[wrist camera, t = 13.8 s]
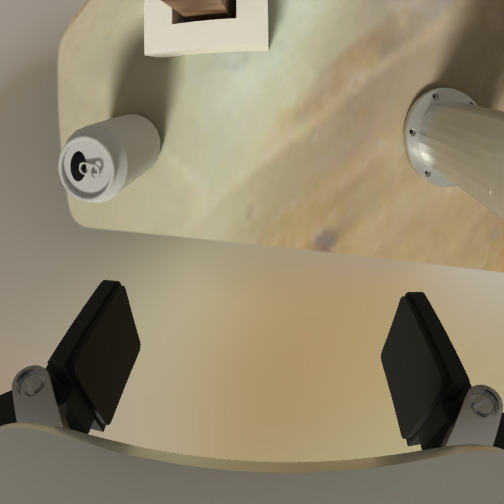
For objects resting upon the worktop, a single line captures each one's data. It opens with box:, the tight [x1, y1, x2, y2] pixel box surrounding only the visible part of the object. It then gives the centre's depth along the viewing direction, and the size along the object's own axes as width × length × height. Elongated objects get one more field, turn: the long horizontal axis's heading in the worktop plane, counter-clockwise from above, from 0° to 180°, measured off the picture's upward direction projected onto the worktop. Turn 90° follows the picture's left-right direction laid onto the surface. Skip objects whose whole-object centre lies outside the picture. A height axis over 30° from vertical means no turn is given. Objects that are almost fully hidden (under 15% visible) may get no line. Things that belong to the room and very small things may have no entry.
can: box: [58, 114, 161, 203], centre depth 30 cm, size 8×8×12 cm
